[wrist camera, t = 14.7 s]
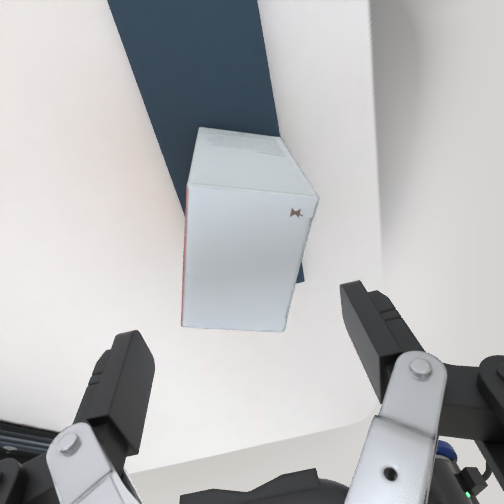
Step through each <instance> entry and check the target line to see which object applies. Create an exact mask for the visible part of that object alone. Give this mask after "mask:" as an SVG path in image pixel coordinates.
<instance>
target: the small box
mask: <svg viewBox="0 0 504 504" xmlns="http://www.w3.org/2000/svg"><path fill="white" fill-rule="evenodd" d="M318 202H319V196H318V194H317V193H316V191H315V190H314V188H313V187H312V185H311V184H310V182H309V181H308V179H307V178H306V176H305V174H304V173H303V171H302V170H301V168H300V167H299V165H298V164H297V162H296V161H295V159H294V158H293V156H292V154H291V153H290V151H289V150H288V148H287V147H286V145H285V144H284V142H283V141H282V139H281V138H280V137H274V136H266V135H259V134H251V133H243V132H236V131H228V130H220V129H213V128H205V127H199V130H198V134H197V139H196V144H195V149H194V153H193V159H192V164H191V169H190V174H189V178H188V182H187V191H186V214H185V236H184V255H183V285H182V313H181V326H182V327H190V328H205V329H226V330H247V331H268V332H283V331H285V328H286V322H287V317H288V312H289V308H290V303H291V299H292V295H293V291H294V287H295V283H296V279H297V275H298V272H299V268H300V264H301V260H302V256H303V252H304V248H305V245H306V241H307V237H308V234H309V230H310V227H311V223H312V220H313V218H314V215H315V211H316V208H317V205H318Z"/></svg>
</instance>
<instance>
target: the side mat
mask: <svg viewBox="0 0 504 504" xmlns="http://www.w3.org/2000/svg"><path fill="white" fill-rule="evenodd" d="M107 1H108V4H109V7H110V9H111V12H112V15H113V18H114V21H115V23H116V26H117V29H118V32H119V34H120V37H121V40H122V43H123V46H124V48H125V51H126V54H127V57H128V59H129V62H130V65H131V68H132V70H133V73H134V76H135V79H136V82H137V84H138V87H139V90H140V93H141V95H142V98H143V101H144V104H145V107H146V109H147V112H148V115H149V118H150V120H151V123H152V126H153V129H154V132H155V134H156V137H157V140H158V143H159V145H160V148H161V151H162V154H163V156H164V159H165V162H166V165H167V168H168V170H169V173H170V176H171V179H172V181H173V184H174V187H175V190H176V193H177V195H178V198H179V201H180V204H181V206H182V209H183V212H184V215H185V214H186V191H187V182H188V178H189V174H190V169H191V164H192V159H193V153H194V149H195V144H196V139H197V134H198V130H199V127H205V128H213V129H220V130H228V131H236V132H243V133H251V134H259V135H266V136H274V137H280V133H279V127H278V121H277V116H276V110H275V104H274V98H273V92H272V86H271V80H270V74H269V68H268V62H267V57H266V51H265V45H264V39H263V33H262V27H261V21H260V15H259V9H258V4H257V0H107ZM300 282H304V275H303V269H302V263H301V264H300V268H299V272H298V275H297V279H296V283H300ZM296 283H295V284H296Z"/></svg>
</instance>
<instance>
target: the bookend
mask: <svg viewBox="0 0 504 504" xmlns="http://www.w3.org/2000/svg"><path fill="white" fill-rule="evenodd" d="M57 435H58V434H55V433H50V432H45V431H39V430H34V429H29V428H23V427H18V426H14V425H8V424H3V423H0V460H2V459H5V458H14V459H15V460H17V461H18V462H19V463H20V464H23V463H25V462H27V461H29V460H31V459H33V458H35V457H37V456H39V455H41V454H43V453H45V452H46V451H48V448H49V446H50V444H51V443H52V441H53V440H54V439H55V438H56V436H57Z"/></svg>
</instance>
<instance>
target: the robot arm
mask: <svg viewBox="0 0 504 504" xmlns="http://www.w3.org/2000/svg"><path fill="white" fill-rule="evenodd" d="M340 295H341V305H342V314H343V319H344V323H345V326H346V329H347V331H348V333H349V336H350V338H351V340H352V342H353V344H354V347H355V349H356V351H357V353H358V355H359V358H360V360H361V362H362V364H363V367H364V369H365V371H366V373H367V375H368V378H369V380H370V382H371V384H372V386H373V389H374V391H375V393H376V395H377V397H378V400H379V402H380V404H382V406H381V409H380V412H379V414H378V415H375V416H374V418H373V420H372V422H371V425H370V428H369V431H368V434H367V437H366V440H365V443H364V446H363V449H362V452H361V455H360V458H359V461H358V464H357V467H356V470H355V473H354V476H353V479H352V483H351V485H350V488H349V487H347V486H345V485H343V484H340V483H338V482H335V481H331V480H327V479H320V478H318V476H317V471H316V468H313V469H308V470H303V471H298V472H293V473H288V474H283V475H281V476H279V477H277V478H275V479H273V480H271V481H269V482H267V483H265V484H264V485H262V486H259V487H258V488H256V489H254V490H252V491H249V492H239V491H229V490H219V489H209V490H205V491H200V492H195V493H190V494H185V495H181V496H180V504H479V502H478V500H477V498H476V497H475V496H476V495H478V494H479V493H480V492H481V491H482V490H483V489H485V488H486V487H487V486H488V485H487V483H486V482H485V481H486V480H487V479H488V478H489V477H490V475H491V473H492V472H493V473H494V475H495V477H496V479H497V480H498V482H499V484H500V486H501V487H502V489H503V491H504V356H503V355H496V356H490V357H487V358H485V359H484V360H483V361H482V362H481V363H480V366H479V367H469V366H456V365H450V364H445V363H442V362H441V361H440V360H439V359H438V358H437V357H435V356H433V355H431V354H429V353H426V352H425V351H424V349H423V348H422V346H421V345H420V343H419V342H418V341H417V339H416V338H415V336H414V335H413V333H412V332H411V330H410V329H409V327H408V326H407V324H406V323H405V321H404V320H403V318H401V315H400V314H399V313H398V311H397V310H396V309H395V307H394V305H393V304H392V302H391V301H390V299H389V298H388V297H387V296H385V295H383V294H382V293H380V292H379V291H377V290H376V291H372V292H367V291H366V289H365V287H364V286H363V284H362V283H361V281H360V280H358V281H354V282H349V283H345V284H341V285H340ZM154 372H155V363H154V358H153V356H152V354H151V352H150V350H149V348H148V346H147V345H146V343H145V341H144V339H143V337H142V335H141V334H140V332H139V331H138V330H134V331H130V332H125V333H121V334H117V335H116V337H115V339H114V342H113V345H112V348H111V349H110V350H106V351H105V352H104V354H103V355H102V356H101V357H100V359H99V360H98V361H97V363H96V365H95V368H94V371H93V373H92V377H91V378H90V381H89V383H88V385H89V386H88V387H87V389H86V391H85V394H84V396H83V399H82V401H81V404H80V407H79V409H78V412H77V414H76V417H75V419H74V422H73V424H72V425H71V426H69V427H67V428H66V429H64V430H63V431H62V432H60V433H59V434H58V435H57V436H56V438H55V439H54V440H53V441H52V443H51V444H50V446H49V448H48V451H46V452H45V453H43V454H41V455H39V456H37V457H35V458H33V459H31V460H29V461H27V462H25V463H23V464H20V463H19V462H18V461H17V460H15V459H14V458H5V459H2V460H0V504H144V502H143V500H142V498H141V496H140V495H139V493H138V491H137V489H136V487H135V485H134V484H133V482H132V480H131V478H130V476H129V474H128V472H127V471H126V469H125V468H124V463H125V459H126V457H127V456H132V455H137V454H138V453H139V448H140V443H141V438H142V433H143V428H144V423H145V418H146V413H147V408H148V403H149V397H150V392H151V387H152V382H153V377H154ZM439 435H440V436H448V437H455V438H464V439H471V440H474V441H475V443H476V444H477V446H478V448H479V450H480V451H481V453H482V455H483V456H484V458H485V460H486V471H485V472H484V474H483V475H481V474H480V472H479V471H478V469H477V468H476V467H465V468H464V469H463V470H462V471H461V470H460V469H459V467H458V465H457V463H456V462H455V460H454V459H453V458H448V456H447V455H445V454H443V453H440V452H436V450H437V445H438V439H439Z"/></svg>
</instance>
